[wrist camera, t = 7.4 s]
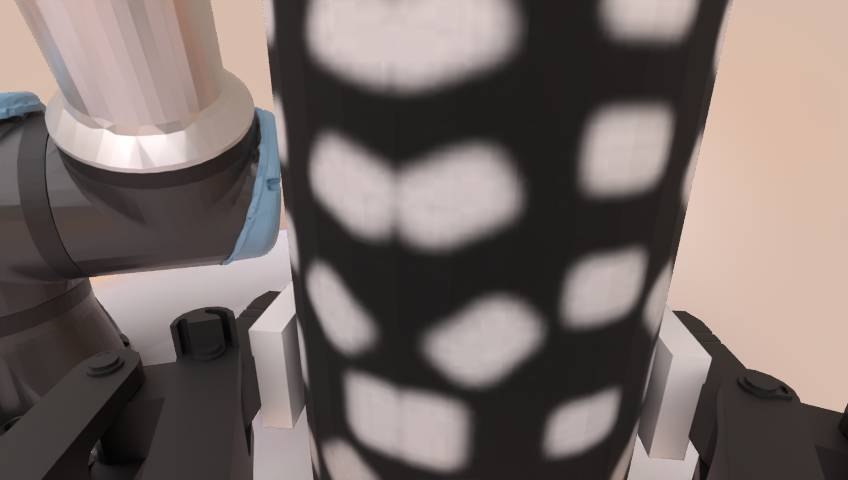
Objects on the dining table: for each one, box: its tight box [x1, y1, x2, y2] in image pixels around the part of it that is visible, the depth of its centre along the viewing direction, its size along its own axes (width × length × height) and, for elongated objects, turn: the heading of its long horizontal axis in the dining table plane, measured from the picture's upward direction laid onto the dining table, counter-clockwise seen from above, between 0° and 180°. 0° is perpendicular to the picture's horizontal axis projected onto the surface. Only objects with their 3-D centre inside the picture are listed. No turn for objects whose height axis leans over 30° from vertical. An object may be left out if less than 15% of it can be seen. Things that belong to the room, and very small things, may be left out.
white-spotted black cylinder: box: [263, 0, 733, 480], centre depth 12 cm, size 8×8×20 cm
